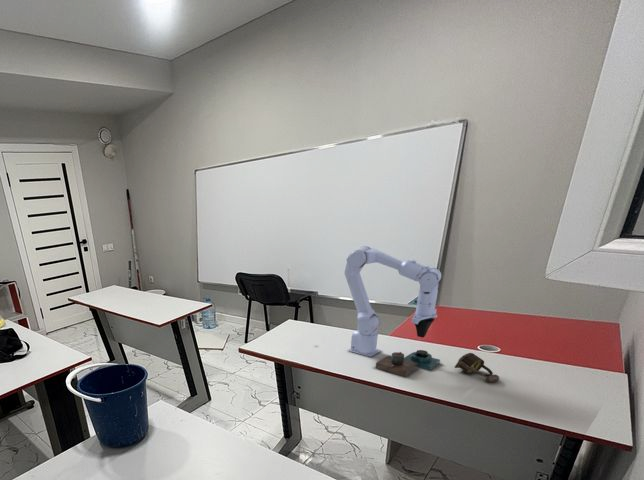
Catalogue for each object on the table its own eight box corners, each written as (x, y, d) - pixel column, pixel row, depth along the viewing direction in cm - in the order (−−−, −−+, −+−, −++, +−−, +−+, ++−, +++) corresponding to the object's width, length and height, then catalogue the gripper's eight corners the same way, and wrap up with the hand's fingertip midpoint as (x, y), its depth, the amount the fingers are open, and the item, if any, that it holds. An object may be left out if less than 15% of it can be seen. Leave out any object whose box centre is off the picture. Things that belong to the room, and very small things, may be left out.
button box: (401, 362, 141) (402, 354, 139) (411, 356, 144) (412, 348, 143) (429, 370, 133) (431, 362, 131) (439, 363, 137) (441, 355, 135)
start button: (414, 356, 138) (414, 352, 137) (418, 353, 140) (419, 349, 139) (424, 358, 135) (425, 354, 134) (428, 355, 137) (429, 351, 136)
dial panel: (375, 368, 139) (376, 362, 138) (387, 360, 143) (388, 354, 142) (405, 377, 130) (406, 370, 129) (417, 369, 135) (418, 362, 134)
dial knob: (399, 366, 133) (401, 356, 132) (388, 363, 136) (389, 354, 135) (405, 362, 135) (406, 353, 134) (394, 359, 138) (395, 350, 137)
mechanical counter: (483, 352, 129) (454, 348, 130) (510, 364, 117) (479, 360, 118) (475, 370, 132) (447, 367, 132) (502, 384, 119) (471, 380, 120)
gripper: (429, 309, 125) (423, 344, 130) (447, 299, 132) (441, 333, 137) (407, 305, 130) (402, 340, 136) (426, 296, 137) (421, 329, 143)
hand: (421, 336), depth 137 cm, fingers closed
